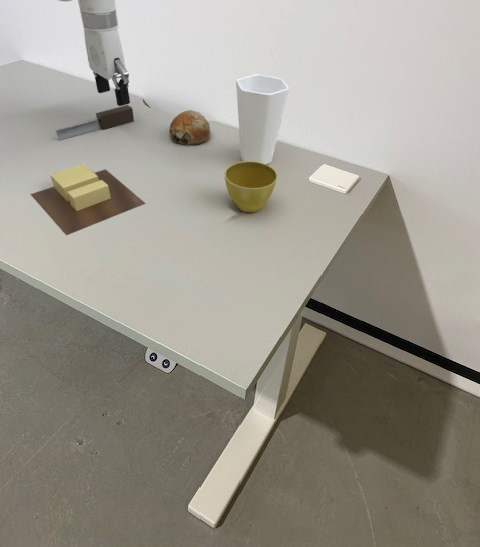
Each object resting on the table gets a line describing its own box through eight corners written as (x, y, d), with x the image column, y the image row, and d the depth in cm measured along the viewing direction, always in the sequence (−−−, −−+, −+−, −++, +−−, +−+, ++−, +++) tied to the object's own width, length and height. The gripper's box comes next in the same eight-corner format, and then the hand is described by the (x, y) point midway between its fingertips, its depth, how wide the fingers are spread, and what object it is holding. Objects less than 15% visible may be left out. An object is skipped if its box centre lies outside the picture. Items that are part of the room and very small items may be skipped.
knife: (129, 117, 111) (127, 104, 109) (134, 121, 110) (132, 107, 107) (56, 138, 101) (52, 124, 99) (60, 142, 100) (56, 127, 97)
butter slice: (76, 211, 78) (73, 197, 76) (70, 205, 79) (67, 191, 77) (110, 198, 81) (108, 185, 79) (104, 192, 83) (101, 179, 81)
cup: (230, 148, 101) (233, 74, 89) (270, 146, 103) (278, 73, 91) (240, 172, 93) (244, 95, 82) (283, 169, 95) (293, 93, 83)
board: (68, 241, 74) (66, 235, 73) (32, 200, 82) (30, 194, 81) (146, 209, 82) (145, 203, 81) (106, 175, 90) (105, 169, 89)
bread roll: (211, 155, 106) (223, 124, 102) (178, 147, 99) (190, 114, 95) (191, 139, 111) (202, 109, 108) (159, 131, 104) (169, 99, 101)
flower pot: (214, 200, 85) (214, 169, 80) (253, 186, 90) (256, 156, 85) (243, 226, 79) (245, 194, 74) (283, 209, 84) (288, 178, 79)
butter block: (67, 201, 80) (63, 188, 78) (53, 187, 83) (49, 174, 81) (100, 189, 84) (97, 176, 81) (86, 176, 87) (83, 163, 85)
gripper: (66, 13, 94) (83, 90, 106) (103, 31, 85) (117, 114, 97) (96, 8, 98) (110, 84, 110) (135, 26, 89) (145, 106, 101)
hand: (113, 98), depth 104 cm, fingers open, 9 cm apart
